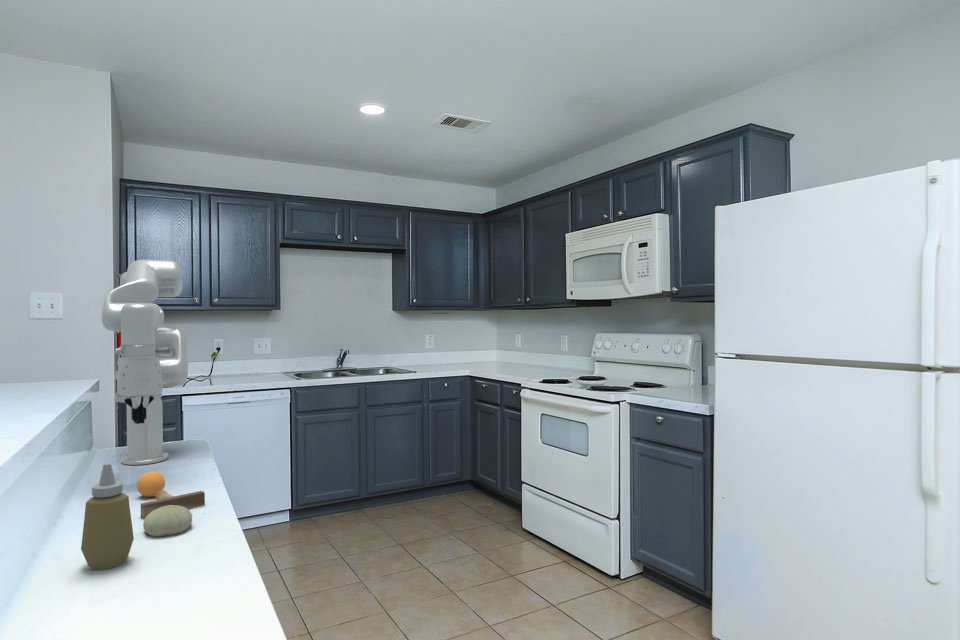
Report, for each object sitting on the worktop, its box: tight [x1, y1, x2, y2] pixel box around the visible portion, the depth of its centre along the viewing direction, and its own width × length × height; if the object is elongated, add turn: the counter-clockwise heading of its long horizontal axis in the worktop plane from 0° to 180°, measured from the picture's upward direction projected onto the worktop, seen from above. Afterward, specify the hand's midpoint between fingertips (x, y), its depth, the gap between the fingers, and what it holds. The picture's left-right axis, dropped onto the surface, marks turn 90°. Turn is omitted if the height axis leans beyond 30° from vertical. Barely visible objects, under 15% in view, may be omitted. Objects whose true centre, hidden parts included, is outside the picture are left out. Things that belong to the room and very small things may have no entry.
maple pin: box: [155, 489, 174, 500], centre depth 140 cm, size 2×2×8 cm
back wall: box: [140, 490, 206, 520], centre depth 135 cm, size 2×13×3 cm, turn 135°
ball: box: [136, 471, 166, 498], centre depth 146 cm, size 6×6×6 cm
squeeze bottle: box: [80, 463, 135, 571], centre depth 107 cm, size 8×8×18 cm
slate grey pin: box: [112, 469, 121, 482], centre depth 137 cm, size 2×2×8 cm
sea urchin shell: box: [142, 505, 193, 538], centre depth 123 cm, size 9×8×8 cm
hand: (139, 422), depth 153 cm, fingers closed
